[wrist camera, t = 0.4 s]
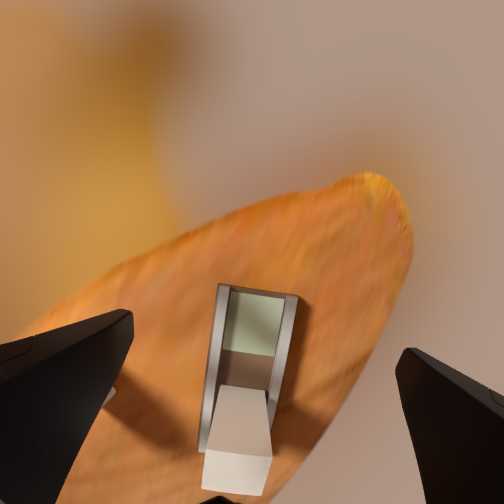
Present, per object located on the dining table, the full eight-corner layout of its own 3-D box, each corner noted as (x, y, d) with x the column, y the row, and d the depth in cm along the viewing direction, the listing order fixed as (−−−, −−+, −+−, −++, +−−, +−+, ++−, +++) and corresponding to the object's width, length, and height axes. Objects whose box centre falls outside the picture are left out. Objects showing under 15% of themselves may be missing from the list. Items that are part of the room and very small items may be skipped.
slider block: (257, 425, 24) (261, 495, 14) (215, 419, 24) (201, 488, 14) (264, 390, 24) (272, 457, 14) (220, 384, 24) (206, 449, 14)
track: (264, 448, 25) (266, 460, 23) (198, 439, 25) (195, 451, 23) (297, 295, 25) (301, 298, 23) (218, 283, 25) (216, 285, 23)
